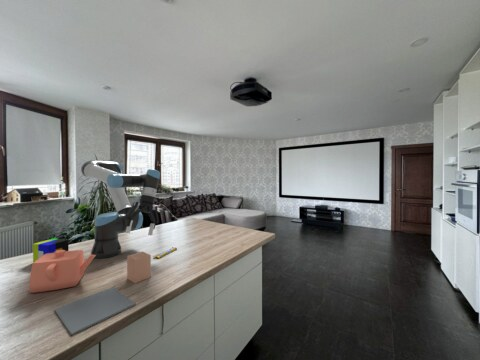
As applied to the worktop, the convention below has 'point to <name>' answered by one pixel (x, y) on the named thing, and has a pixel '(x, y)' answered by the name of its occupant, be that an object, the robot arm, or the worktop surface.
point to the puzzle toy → (49, 247)
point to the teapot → (58, 270)
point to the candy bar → (166, 252)
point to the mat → (92, 309)
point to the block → (138, 266)
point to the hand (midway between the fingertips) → (139, 234)
